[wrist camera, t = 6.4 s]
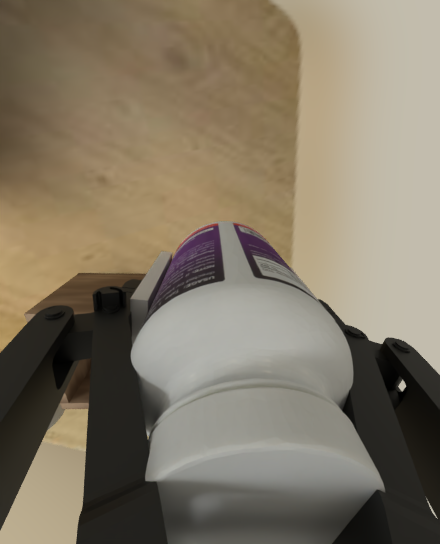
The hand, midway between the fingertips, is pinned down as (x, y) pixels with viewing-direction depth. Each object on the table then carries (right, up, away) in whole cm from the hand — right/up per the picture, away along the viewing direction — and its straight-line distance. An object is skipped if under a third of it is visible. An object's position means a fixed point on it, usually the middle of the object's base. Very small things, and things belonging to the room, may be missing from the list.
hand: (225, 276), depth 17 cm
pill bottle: (0, +1, +2) cm, 2 cm away
